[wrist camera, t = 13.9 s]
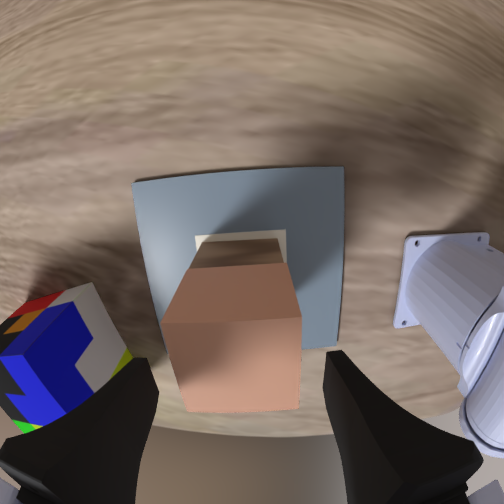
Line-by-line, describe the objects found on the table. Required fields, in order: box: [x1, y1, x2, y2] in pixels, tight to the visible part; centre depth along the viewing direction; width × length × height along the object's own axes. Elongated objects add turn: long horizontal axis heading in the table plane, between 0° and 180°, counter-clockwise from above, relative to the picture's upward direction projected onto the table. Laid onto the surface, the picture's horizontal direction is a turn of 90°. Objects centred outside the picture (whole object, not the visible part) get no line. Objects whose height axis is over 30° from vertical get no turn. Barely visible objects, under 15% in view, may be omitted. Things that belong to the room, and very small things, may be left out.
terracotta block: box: [160, 263, 302, 412], centre depth 13 cm, size 5×5×5 cm
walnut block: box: [189, 238, 284, 269], centre depth 18 cm, size 5×5×5 cm
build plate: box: [131, 166, 344, 354], centre depth 20 cm, size 14×14×1 cm
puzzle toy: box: [0, 282, 133, 434], centre depth 19 cm, size 10×10×10 cm
